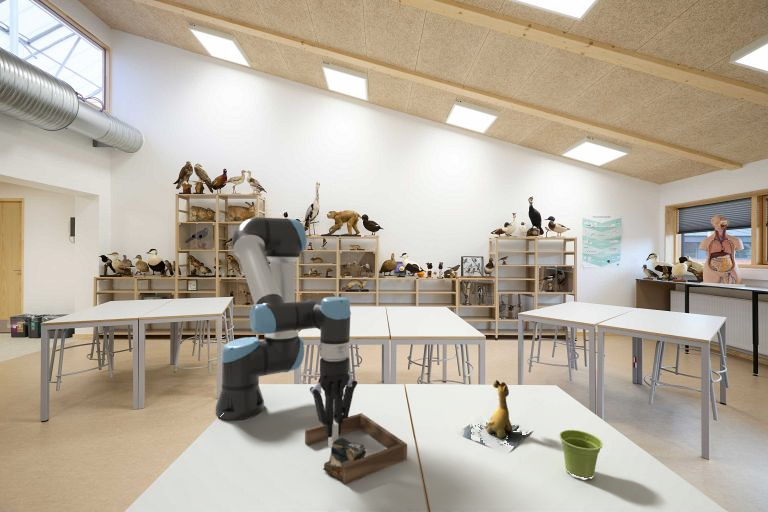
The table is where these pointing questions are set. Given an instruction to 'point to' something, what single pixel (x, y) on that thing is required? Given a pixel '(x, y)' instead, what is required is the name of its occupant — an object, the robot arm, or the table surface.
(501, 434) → the stuffed giraffe
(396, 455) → the box
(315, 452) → the table surface
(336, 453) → the rock
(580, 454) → the plant pot
